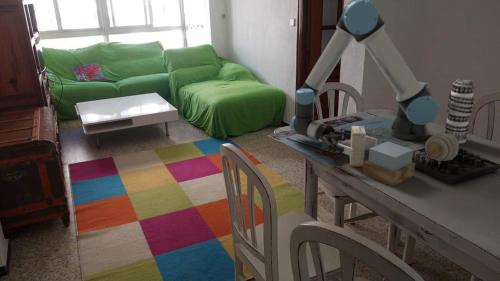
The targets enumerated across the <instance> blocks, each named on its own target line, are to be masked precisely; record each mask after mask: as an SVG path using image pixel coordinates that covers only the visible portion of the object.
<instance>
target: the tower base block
mask: <svg viewBox="0 0 500 281" xmlns="http://www.w3.org/2000/svg"><path fill="white" fill-rule="evenodd" d="M368 161H369V159H367V160H364V162H363V167H362V175H365V176H366V177H369V178H372V179H373V180H376V181H379V182H381V183H383V184H386V185H388V186H390V187H394V186H396V185H398V184H400V183H402V182H404V181H407V180H408V179H410V178H412V177H414V176H415V171H416V170H415V169H416V163H415V162H412V163H411V164H409V165H407V166H405V167H403V168H401V169H399V170H396V171H394V172H393V171H391V170H388V169H385V168H383V167H380V166H378V165H375V164H372V163H370V162H368Z"/></svg>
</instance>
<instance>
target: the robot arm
mask: <svg viewBox="0 0 500 281" xmlns="http://www.w3.org/2000/svg"><path fill="white" fill-rule="evenodd" d="M335 27H336V30H335V31H334V33H333V35H332V37H331V38H330V40H329V42H328V44H327V45H326V47H325V48H324V50H323V52H322V53H321V55H320V56H319V58H318V60H317V61H316V63H315V64H314V66H313V68H312V70H311V71H310V73H309V75H308V77H307V78H306V80H305V81H304V83H303V85H302V86H301V87H300V88H299V89H297V90H296V91H295V98H294V99H295V115H294V116H293V117H292V118H291V121H290V123H289V126H290V130H291V131H292V132H294V133H296V134H297V135H300V136H303V137H307V138H309V139H312V140H314V141H316V142H318V144H321V145H322V147H324V149H326V151H327V152H330V153H331V152H332V153H334V154H335V153H337V152H340V153H341V154H342V153H343V154H344V155H347V156H349V157H350V156H353V148H350V146H348V145H344V144H342V143H338V142H339V141H341V142H346V141H347V140H348V141H351V130H350V129H344V128H340V130H335V128H334V127H333V126H332V125H330V124H327V123H324V122H321V121H318V120H314V116H315V115H314V113H315V99H316V98H317V96H318V94H319V93H320V91H321V90H322V87H324V85H325V83H326V81H327V79H329V77H330V75H331V74H332V73H333V70H334V69H335V67H337V64H338V63H339V61H340V59H341V58H342V57H343V55H344V53H345V51H346V50H347V49H348V47H349V46H350V44H351V43H352V41H353V40H355V41H356V43H358V44H362V45H364V47H365V49H366V50H367V51H368V52H369V54H370V56H371V58H372V59H373V60H374V62H375V63H376V65H377V66H378V68H379V70H380V71H381V73H382V74H383V75H384V77H385V79H386V80H387V81H388V83H389V84H390V86H391V87H392V89H393V90H394V92H395V93H396V97H395V100H396V102H397V103H396V104H397V105H396V106H397V108H396V114H395V115H396V116H395V118H394V121H393V122H392V124H391V127H390V135H391V136H392V137H394V138H397V139H401V140H407V141H422V140H425V139H427V137H428V134H429V130H428V124H429V123H431V122H433V121H434V120H435V119H436V118H437V116H438V115H439V112H440V104H439V102H438V100H437V99H436V98H434V96H433V94H431V92H430V89H431V87H430V83H427V82H422V81H418V80H417V78H416V77H415V75H414V74H413V72H412V71H411V69H410V67H409V66H408V64H407V63H406V62H405V60H404V58H403V57H402V55H401V54H400V52H399V50H398V49H397V48H396V46H395V45H394V43H393V41H392V40H391V38H390V37H389V35H388V34H387V32H386V30H385V27H386V23H385V21H384V20H383V18H382V16H381V14H380V13H379V10H378V8H377V6H376V5H375V4H374V3H373V2H372V1H371V0H351V1H349V2H348V3H347V4H346V6H345V7H344V8H343V11H342V14H341V16H340V18H339V21H338V22H337V24H336V26H335ZM365 144H367V145H370V146H373V147H375V146H377V145H378V138H375V137H371V136H369V135H366V138H365Z"/></svg>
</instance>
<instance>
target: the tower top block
mask: <svg viewBox="0 0 500 281" xmlns="http://www.w3.org/2000/svg"><path fill="white" fill-rule="evenodd" d="M368 150H369V152H368V160H369V161H368V162H370V163H372V164H375V165H378V166H380V167H383V168H385V169H388V170H391V171H393V172H394V171H396V170H399V169H401V168H403V167H405V166H407V165H409V164H411V163H413V157H414V156H413V155H414V149H412V148H410V147H407V146H404V145H403V146H402V145H399V144H397V143H395V142H394V143H393V142H391V141H385V142H383V143H380V144H377V146H373V147H370V148H369V149H368Z"/></svg>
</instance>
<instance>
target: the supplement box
mask: <svg viewBox="0 0 500 281" xmlns="http://www.w3.org/2000/svg"><path fill="white" fill-rule="evenodd" d="M366 136H367V132H366V130H365V126H363V125H351V140H350V144H349V145H350V146H349V147H350V148H353V156H350V155H349V164H350V167H354V168H355V167H356V168H357V167H359V168H363V162H364V161H365V160H364V159H365V151H366V150H365V147H366V143H365V138H366Z"/></svg>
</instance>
